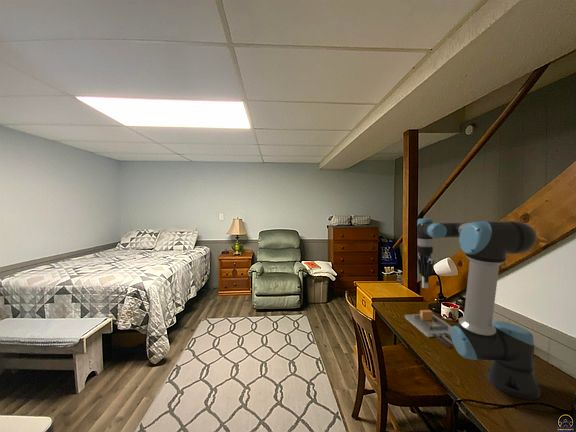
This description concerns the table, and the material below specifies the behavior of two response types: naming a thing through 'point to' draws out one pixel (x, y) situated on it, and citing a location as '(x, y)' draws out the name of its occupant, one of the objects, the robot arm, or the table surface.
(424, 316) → the light brown block
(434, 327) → the panel
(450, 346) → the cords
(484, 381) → the table surface
